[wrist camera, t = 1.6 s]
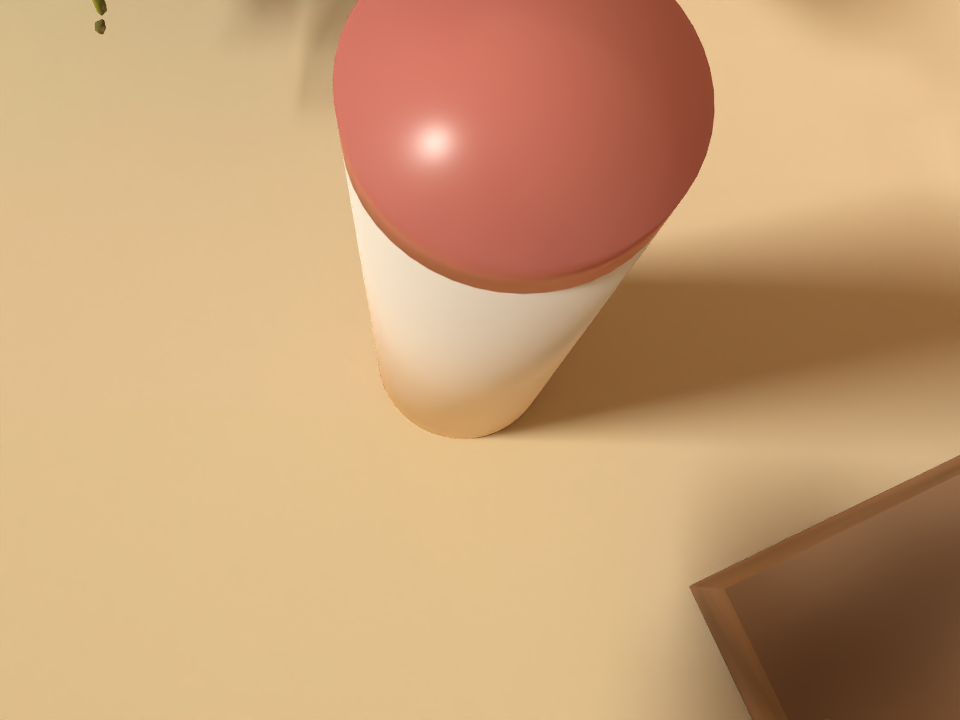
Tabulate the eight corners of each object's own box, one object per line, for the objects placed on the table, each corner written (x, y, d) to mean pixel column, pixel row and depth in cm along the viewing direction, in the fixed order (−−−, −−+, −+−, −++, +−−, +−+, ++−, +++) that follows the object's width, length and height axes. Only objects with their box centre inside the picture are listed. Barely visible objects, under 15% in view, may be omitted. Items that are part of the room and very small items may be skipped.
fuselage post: (572, 399, 22) (781, 183, 10) (417, 465, 21) (423, 325, 9) (504, 253, 23) (613, -119, 11) (352, 312, 22) (275, -14, 10)
